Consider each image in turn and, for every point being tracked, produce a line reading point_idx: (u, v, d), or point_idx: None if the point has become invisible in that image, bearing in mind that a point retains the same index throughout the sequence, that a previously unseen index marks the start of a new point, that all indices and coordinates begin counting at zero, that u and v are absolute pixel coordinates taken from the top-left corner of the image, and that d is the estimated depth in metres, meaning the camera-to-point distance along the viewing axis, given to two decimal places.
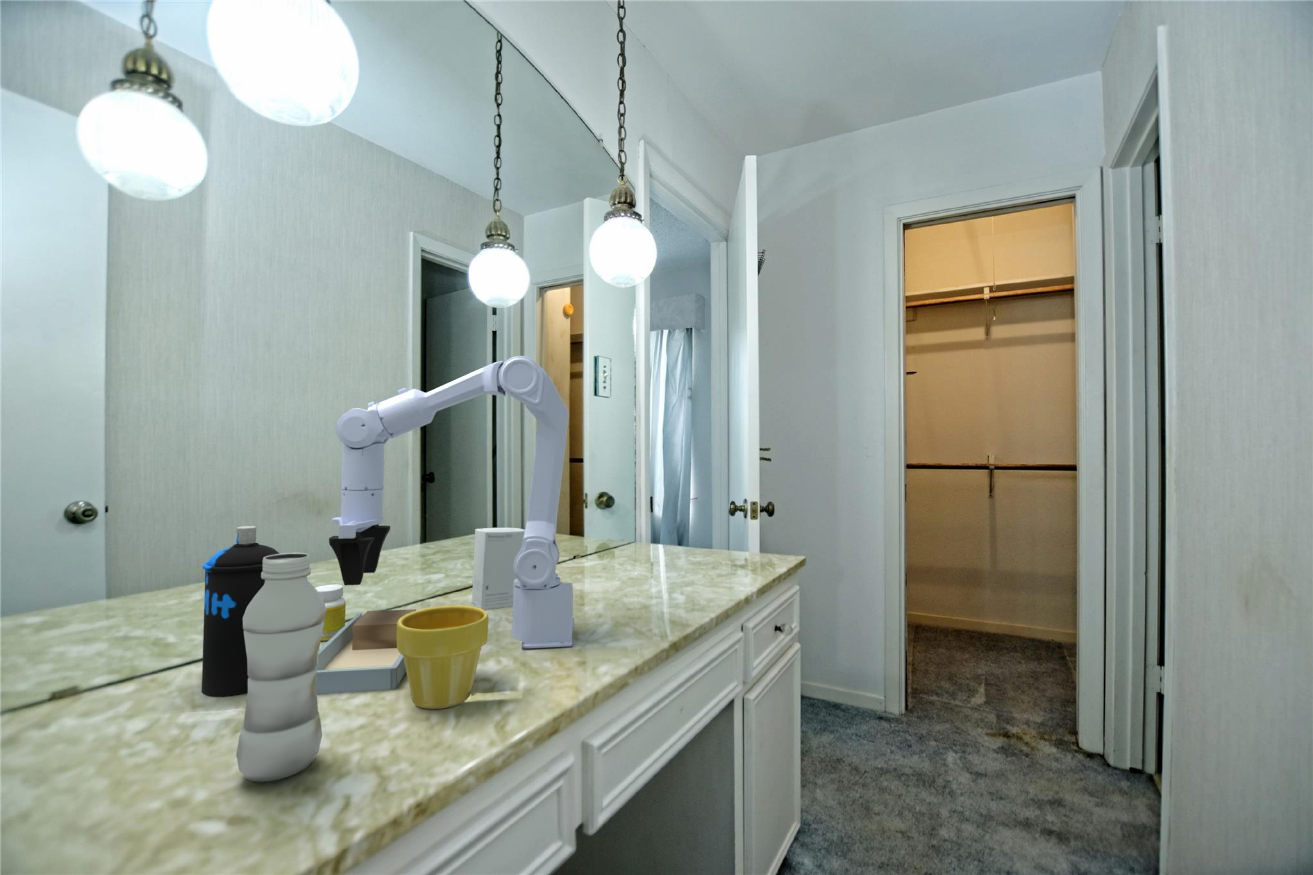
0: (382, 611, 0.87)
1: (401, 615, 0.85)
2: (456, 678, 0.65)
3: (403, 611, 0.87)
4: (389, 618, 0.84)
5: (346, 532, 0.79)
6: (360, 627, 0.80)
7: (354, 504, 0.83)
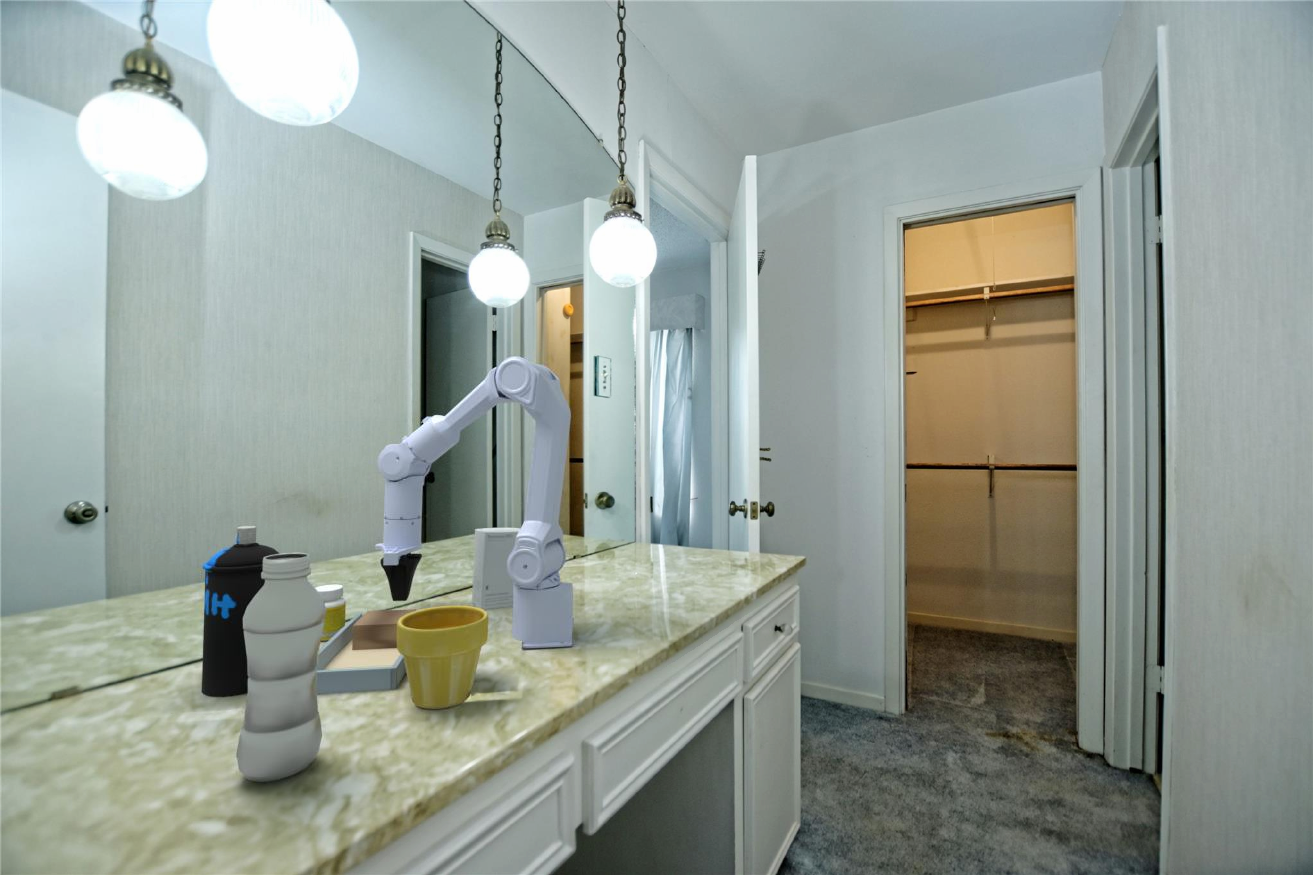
0: (382, 611, 0.87)
1: (401, 615, 0.85)
2: (456, 678, 0.65)
3: (403, 611, 0.87)
4: (389, 618, 0.84)
5: (390, 559, 0.86)
6: (360, 627, 0.80)
7: (396, 532, 0.90)
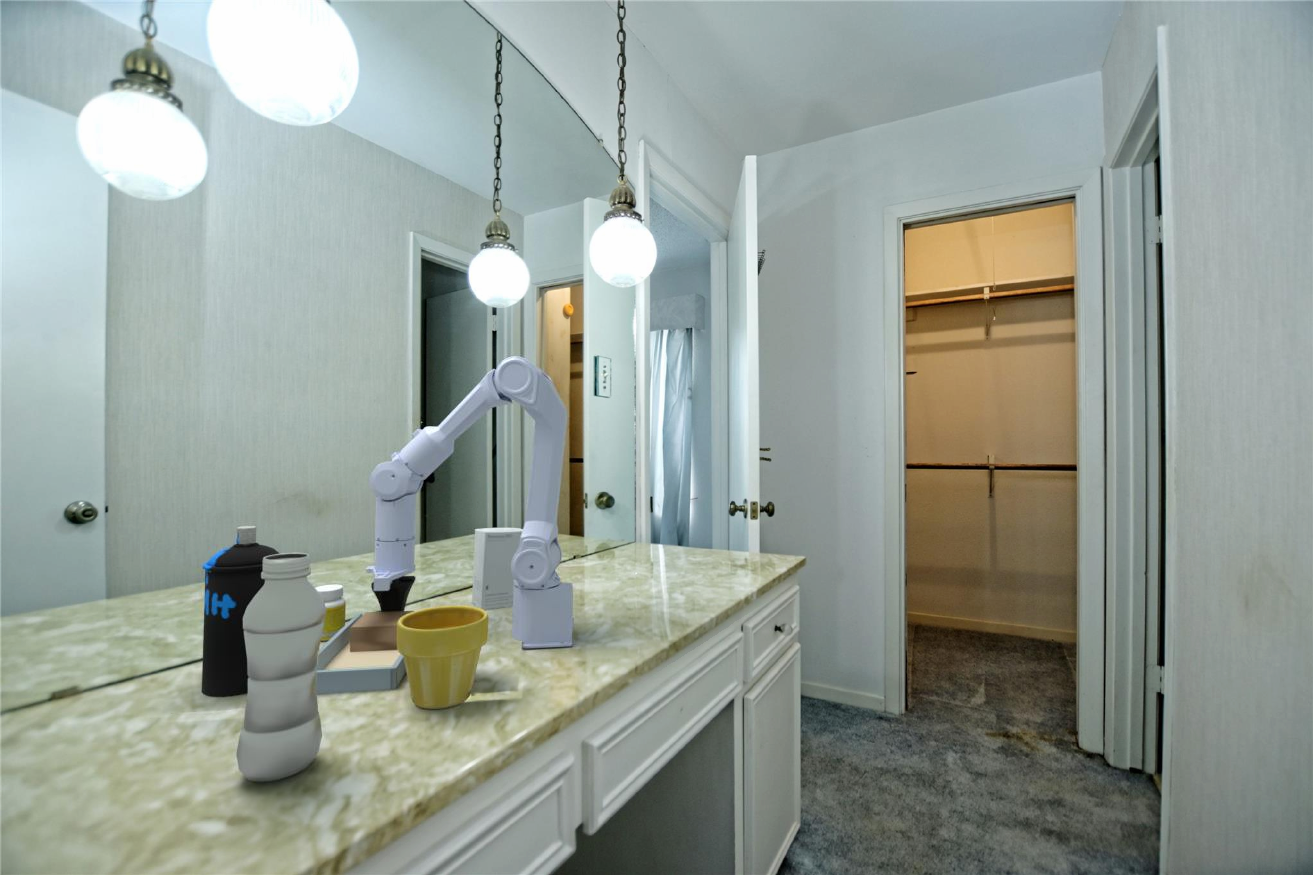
0: (380, 612, 0.86)
1: (399, 617, 0.84)
2: (456, 678, 0.65)
3: (401, 612, 0.86)
4: (387, 619, 0.83)
5: (380, 584, 0.81)
6: (358, 629, 0.79)
7: (388, 554, 0.85)
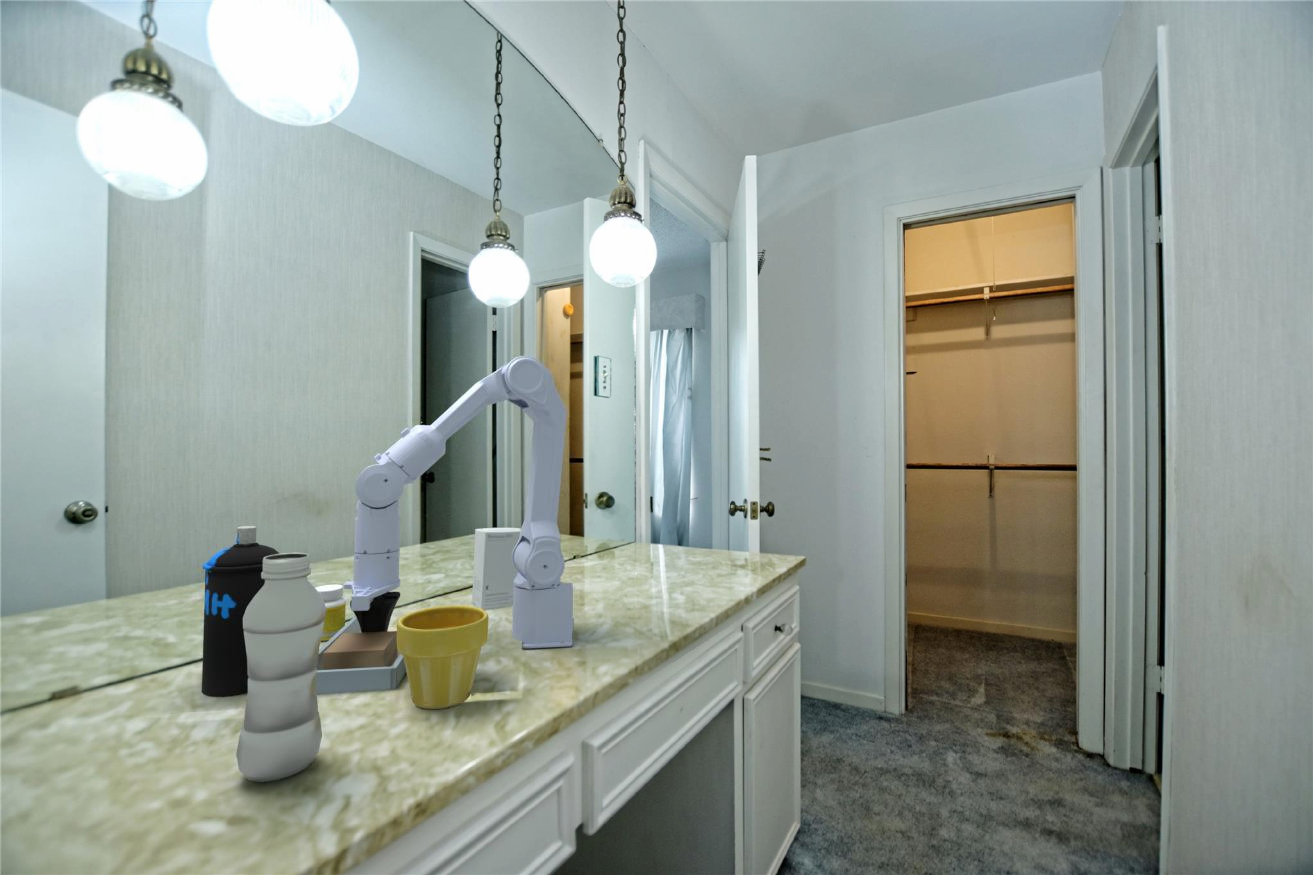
0: (359, 633, 0.77)
1: (380, 639, 0.75)
2: (456, 678, 0.65)
3: (383, 633, 0.77)
4: (366, 642, 0.73)
5: (359, 603, 0.72)
6: (332, 655, 0.70)
7: (368, 569, 0.76)
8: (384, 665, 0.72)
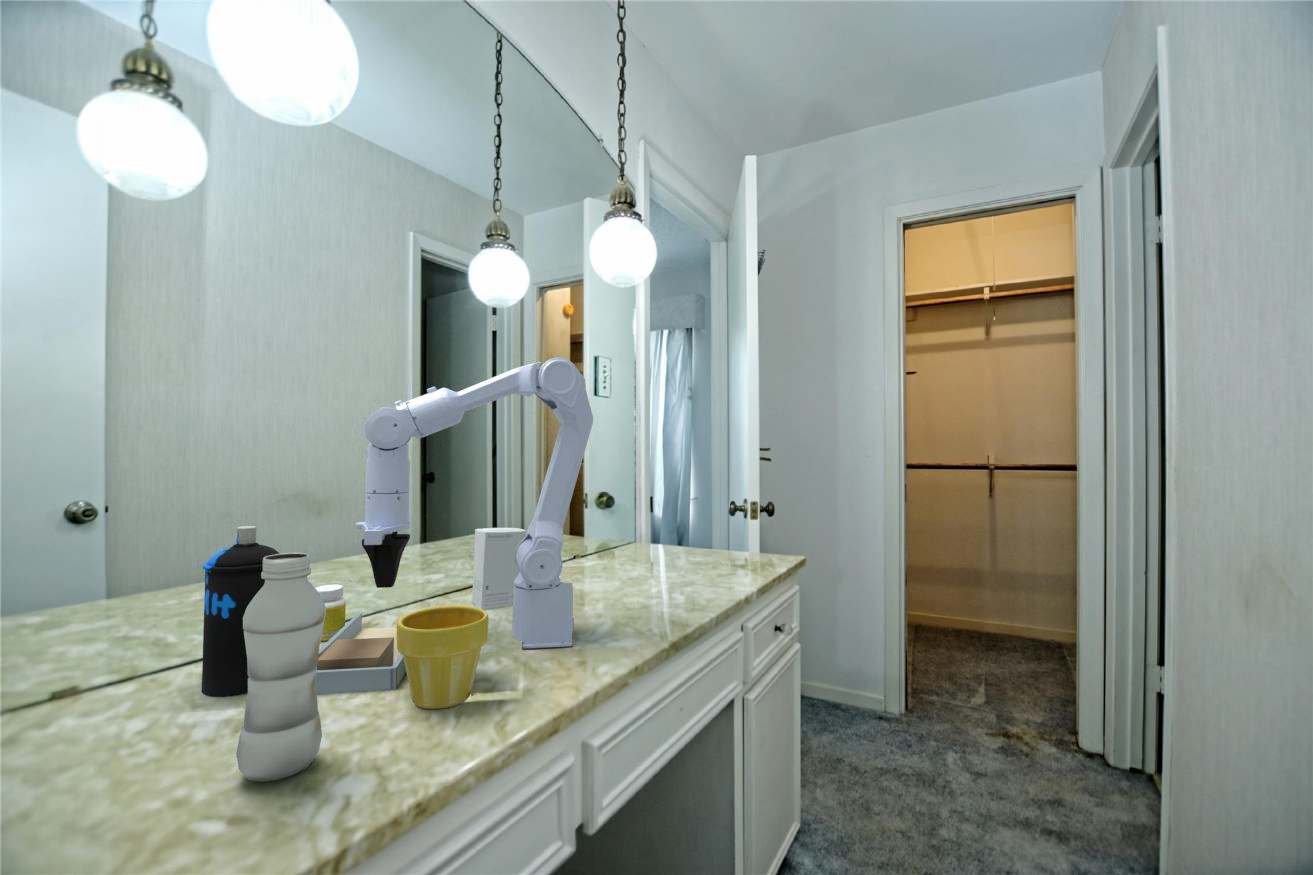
0: (354, 640, 0.74)
1: (375, 646, 0.72)
2: (456, 678, 0.65)
3: (378, 639, 0.75)
4: (360, 649, 0.71)
5: (372, 538, 0.74)
6: (325, 662, 0.68)
7: (380, 508, 0.78)
8: None
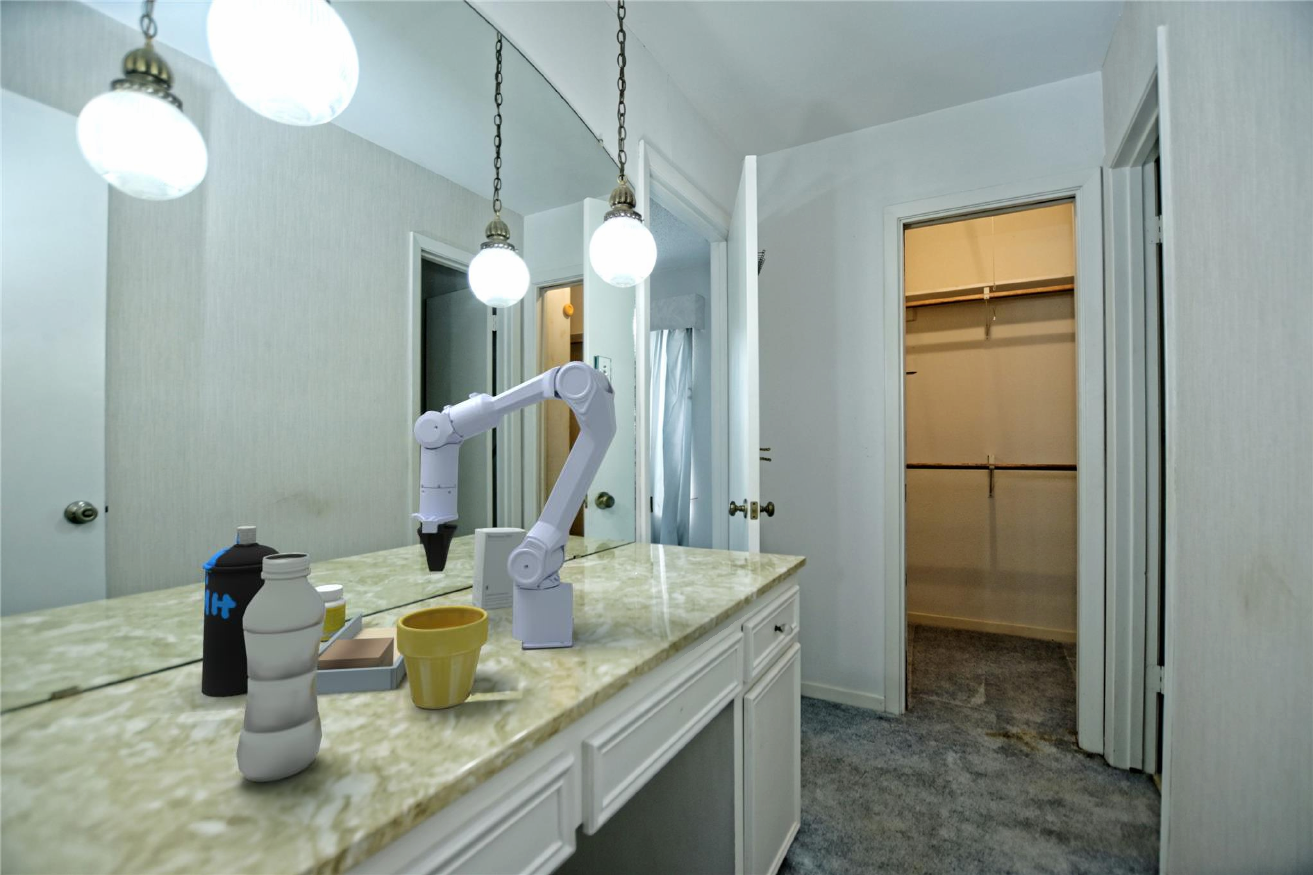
0: (354, 640, 0.74)
1: (375, 646, 0.72)
2: (456, 678, 0.65)
3: (378, 639, 0.75)
4: (360, 649, 0.71)
5: (429, 526, 0.84)
6: (325, 662, 0.68)
7: (433, 500, 0.89)
8: None
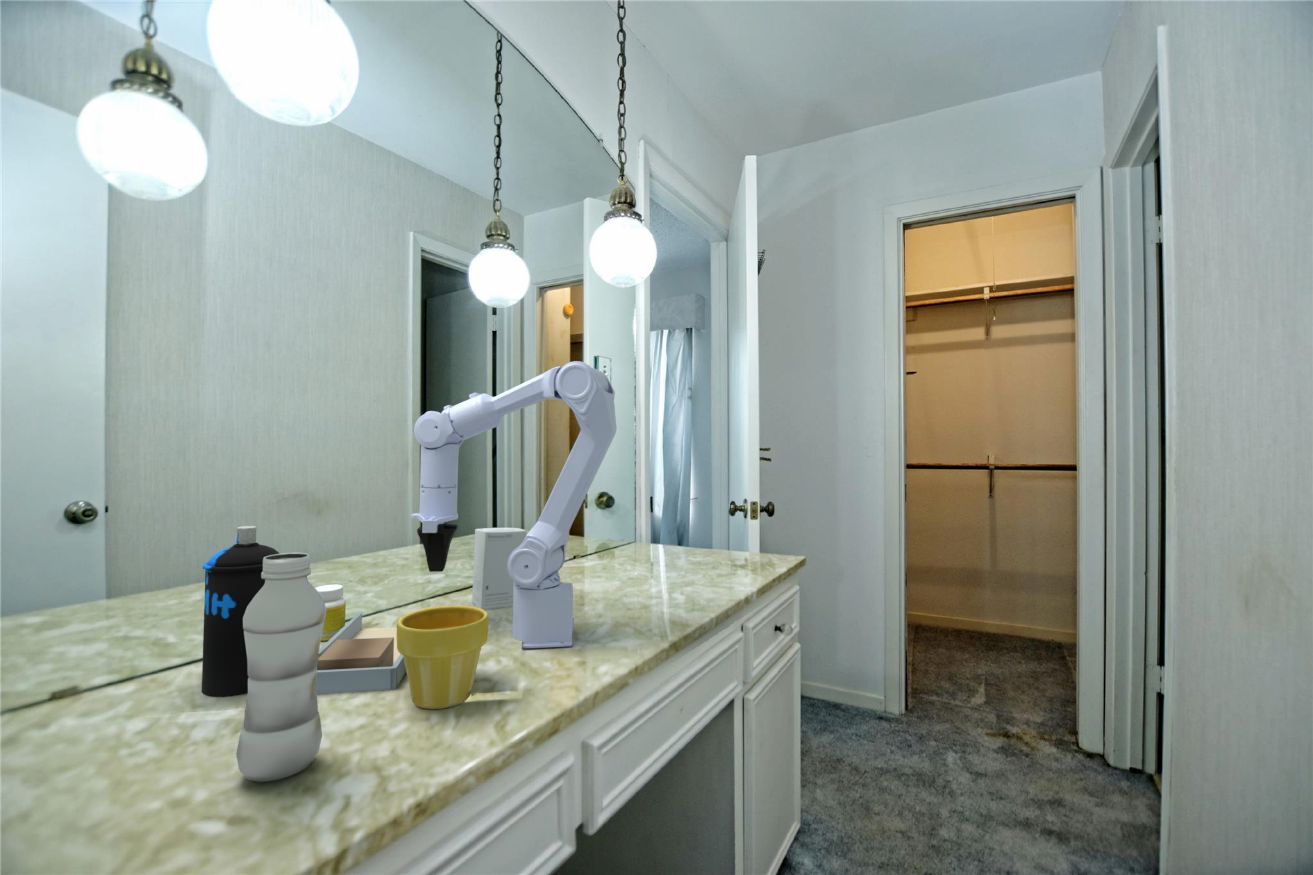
0: (354, 640, 0.74)
1: (375, 646, 0.72)
2: (456, 678, 0.65)
3: (378, 639, 0.75)
4: (360, 649, 0.71)
5: (429, 526, 0.84)
6: (325, 662, 0.68)
7: (433, 500, 0.89)
8: None
